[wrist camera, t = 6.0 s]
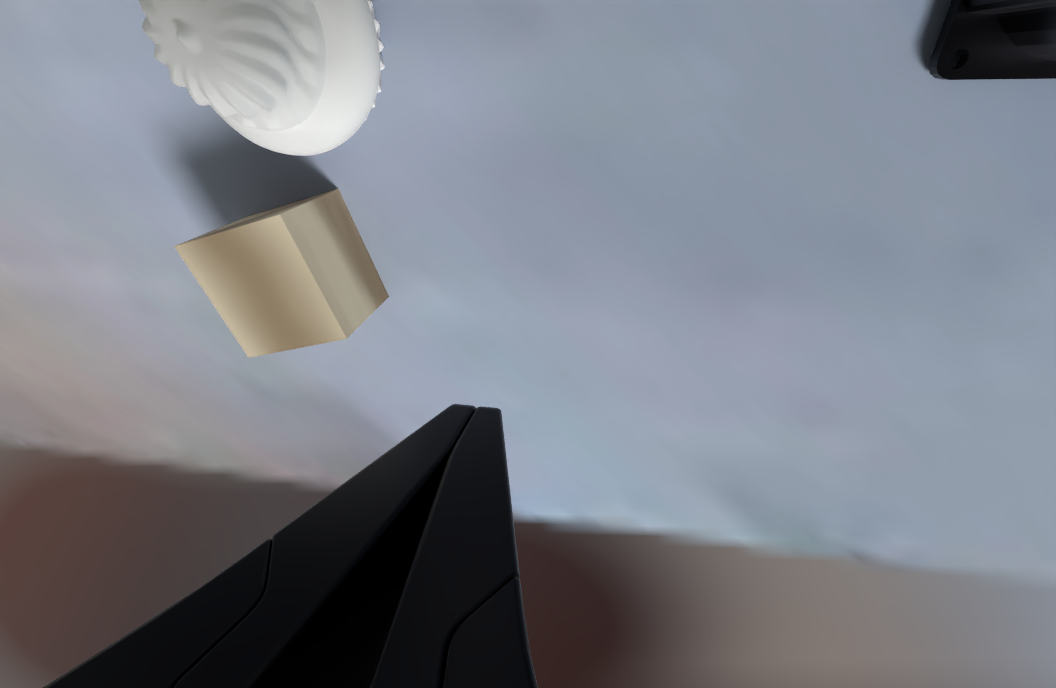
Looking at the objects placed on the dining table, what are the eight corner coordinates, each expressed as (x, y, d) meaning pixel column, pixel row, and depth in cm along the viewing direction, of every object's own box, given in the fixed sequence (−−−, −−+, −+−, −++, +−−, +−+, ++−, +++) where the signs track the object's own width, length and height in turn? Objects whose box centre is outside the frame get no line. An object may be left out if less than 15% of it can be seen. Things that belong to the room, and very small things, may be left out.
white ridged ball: (440, -24, 15) (317, -83, 9) (404, 165, 18) (298, 215, 12) (256, -103, 14) (4, -217, 9) (254, 103, 18) (72, 123, 12)
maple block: (340, 187, 19) (279, 214, 16) (390, 295, 21) (346, 338, 18) (247, 216, 21) (174, 246, 17) (303, 314, 23) (248, 357, 19)
